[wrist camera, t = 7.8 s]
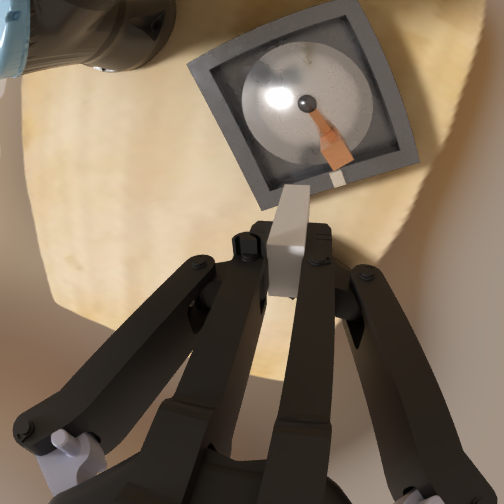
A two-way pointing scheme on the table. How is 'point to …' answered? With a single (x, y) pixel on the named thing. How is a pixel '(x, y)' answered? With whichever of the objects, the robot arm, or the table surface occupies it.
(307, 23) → the housing
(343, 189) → the table surface
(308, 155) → the dial
